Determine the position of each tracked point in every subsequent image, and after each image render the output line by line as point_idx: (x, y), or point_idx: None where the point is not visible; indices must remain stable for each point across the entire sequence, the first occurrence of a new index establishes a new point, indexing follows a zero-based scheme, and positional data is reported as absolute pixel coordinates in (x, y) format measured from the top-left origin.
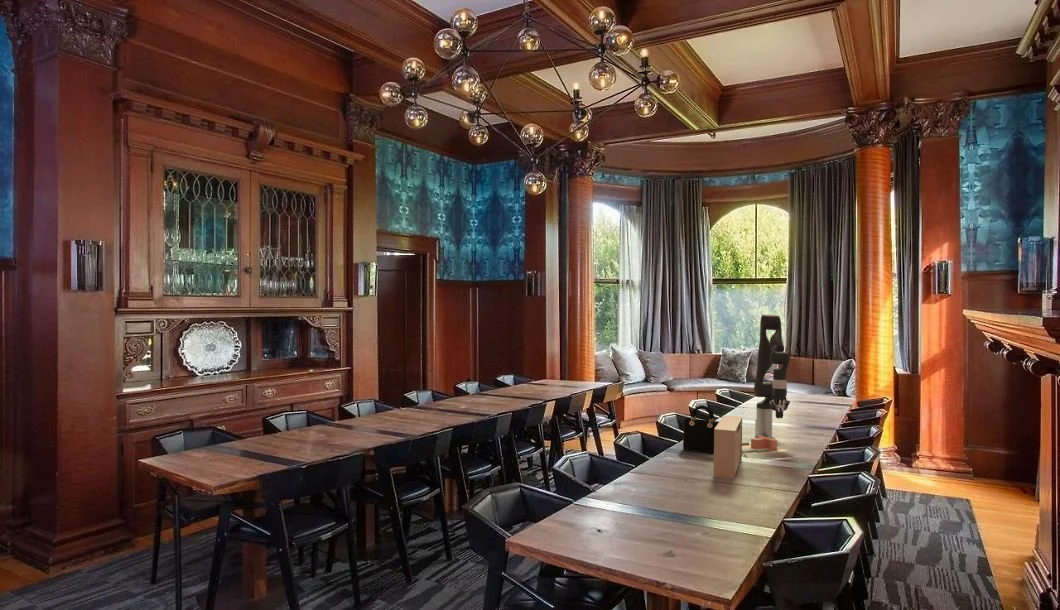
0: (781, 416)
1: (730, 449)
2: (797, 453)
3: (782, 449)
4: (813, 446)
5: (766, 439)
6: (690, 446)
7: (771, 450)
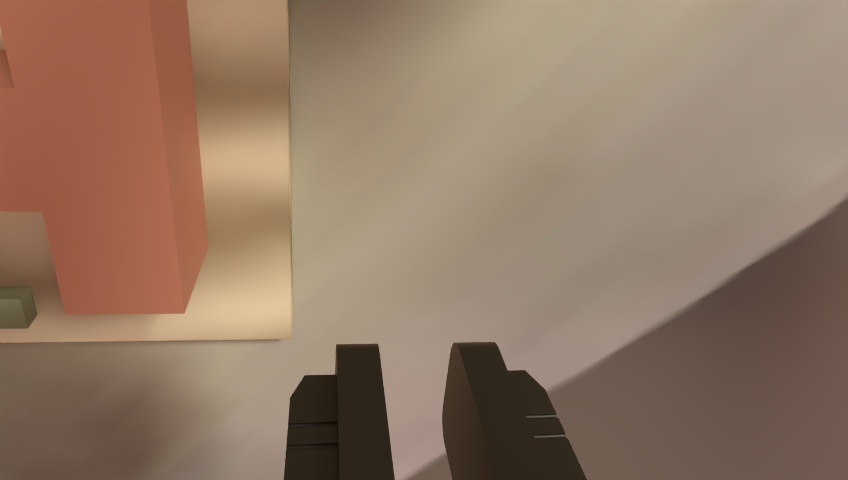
0: (452, 461)
1: None
2: None
3: (269, 273)
4: (805, 175)
5: (45, 215)
6: None
7: None
